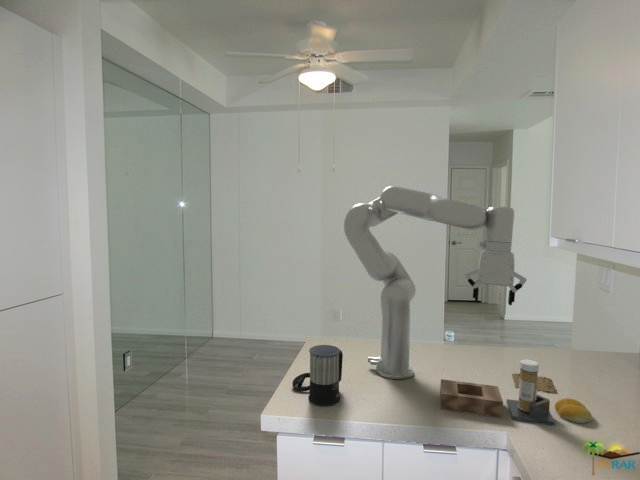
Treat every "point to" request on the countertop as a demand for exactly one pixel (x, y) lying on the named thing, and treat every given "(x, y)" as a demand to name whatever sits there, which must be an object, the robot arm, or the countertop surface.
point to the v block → (532, 411)
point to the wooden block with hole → (471, 398)
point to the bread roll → (572, 410)
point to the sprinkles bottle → (527, 384)
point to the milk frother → (322, 375)
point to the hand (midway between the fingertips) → (492, 302)
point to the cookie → (538, 384)
